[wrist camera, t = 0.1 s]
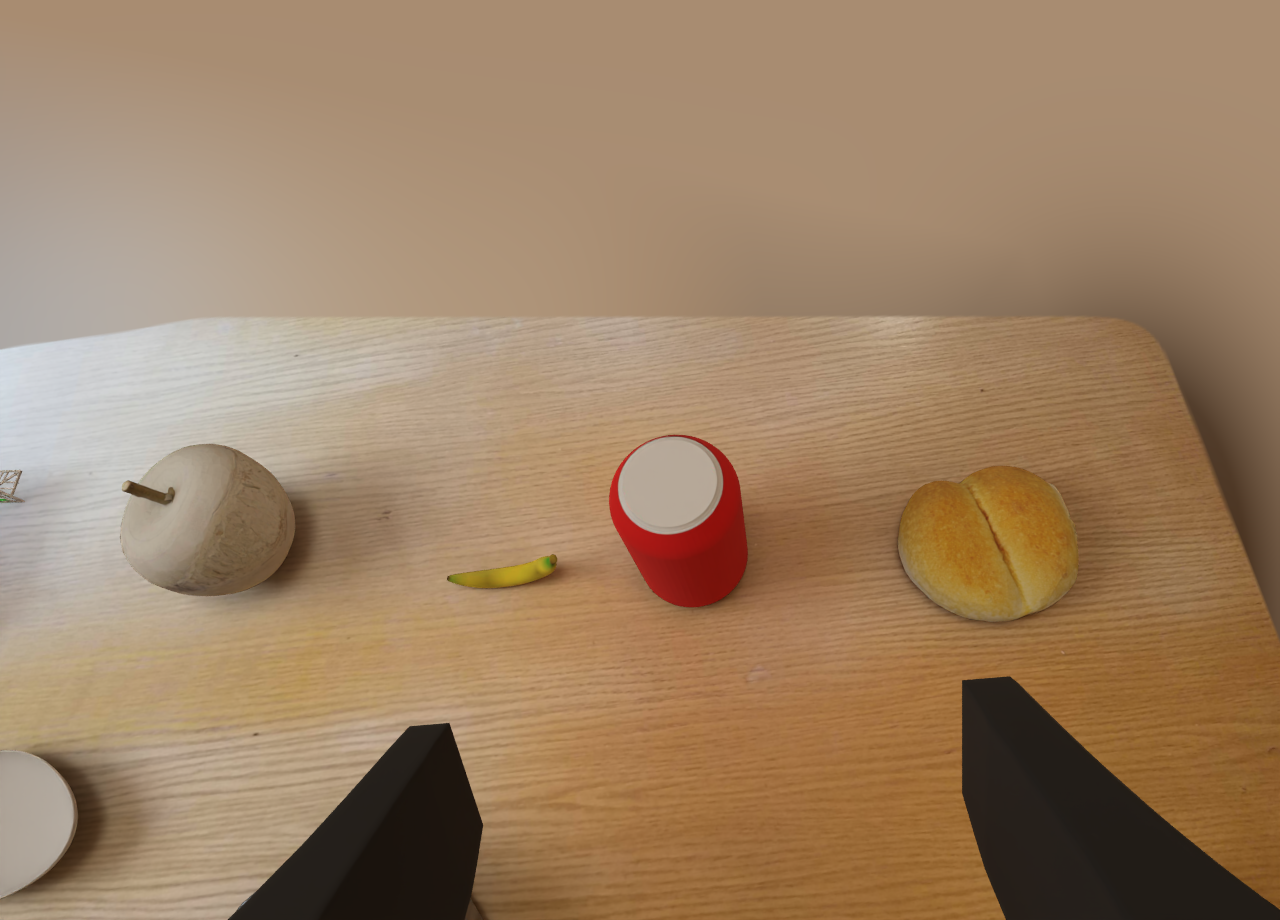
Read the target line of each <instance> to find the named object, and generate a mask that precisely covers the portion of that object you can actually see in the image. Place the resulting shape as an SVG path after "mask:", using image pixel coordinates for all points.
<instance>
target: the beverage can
mask: <svg viewBox="0 0 1280 920" xmlns="http://www.w3.org/2000/svg"><path fill="white" fill-rule="evenodd" d="M609 506H610V513H611V517H612V520H613V523H614V525H615V528H616V529H617V531H618V533H619V535H620V537H621V538H622V540H623V542H624V544H625V545H626V547H627V549H628V551H629V553H630V554H631V556H632V558H633V560H634V561H635V563H636V565H637V567H638V569H639V570H640V572H641V574H642V576H643V577H644V579H645V581H646V583H647V584H648V586H649V587H650V588H651V589H652V590H653V592H654V593H656V594H657V595H658V596H659V597H661V598H662V599H664V600H665V601H667V602H669V603H672V604H674V605H678V606H683V607H701V606H705V605H709V604H712V603H714V602H716V601H719V600H720V599H722V598H724V597H725V596H726V595H728V594H729V593H730V592H731V591H732V590H733V589H734V588H735V587H736V585H737V584H738V583H739V581H740V579H741V578H742V576H743V573H744V571H745V568H746V564H747V557H748V549H747V540H746V532H745V524H744V516H743V507H742V499H741V491H740V484H739V480H738V477H737V474H736V472H735V470H734V468H733V466H732V464H731V463H730V461H729V460H728V459H727V458H726V456H725V455H724V454H723V453H722V452H721V451H720V450H718V449H717V448H716V447H714V446H713V445H711V444H710V443H708V442H706V441H704V440H702V439H699V438H696V437H692V436H686V435H668V436H662V437H658V438H655V439H652V440H650V441H648V442H645V443H644V444H642V445H640V446H639V447H637V448H636V449H635V450H633V451H632V452H631V453H630V454H629V455H628V456H627V457H626V458H625V459H624V460H623V462H622V463H621V464H620V466H619V468H618V469H617V471H616V473H615V475H614V478H613V481H612V484H611V488H610V495H609Z"/></svg>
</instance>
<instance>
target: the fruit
mask: <svg viewBox="0 0 1280 920" xmlns="http://www.w3.org/2000/svg"><path fill="white" fill-rule="evenodd" d="M556 562H557V557H556V555H554V554H552V555H551V556H545V557H541V558H539V559H537V560H535V561H532V562H529V563H526V564H522V565H517V566H511V567H504V568H497V569H490V570H482V571H474V572H467V573H460V574H454V575H450V576H448V577H447V580H448V581H450V582H452V583H455V584H459V585H463V586H468V587H475V588H500V587H509V586H515V585H520V584H524V583H528V582H532V581H535V580H538V579H540V578H543V577H545V576H547V575H549V574H551V573H552V572H553V571H554V570H555V569H556V565H557V564H556Z"/></svg>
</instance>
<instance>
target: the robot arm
mask: <svg viewBox="0 0 1280 920" xmlns="http://www.w3.org/2000/svg"><path fill="white" fill-rule="evenodd" d="M962 794H963V797H964V801H965V804H966V808H967V811H968V814H969V818H970V821H971V825H972V828H973V832H974V835H975V838H976V841H977V845H978V848H979V851H980V854H981V858H982V861H983V864H984V867H985V870H986V873H987V875H988V877H989V880H990V882H991V885H992V887H993V890H994V892H995V894H996V897H997V899H998V902H999V904H1000V906H1001V909H1002V911H1003V913H1004V916H1005V918H1006V920H1280V909H1278V908H1277V907H1275V906H1274V905H1273V904H1271V903H1270V902H1268V901H1267V900H1266V899H1264V898H1263V897H1262V896H1260V895H1259V894H1258V893H1256V892H1255V891H1254V890H1252V889H1251V888H1250V887H1248V886H1247V885H1246V884H1244V883H1243V882H1242V881H1240V880H1239V879H1238V878H1236V877H1235V876H1234V875H1233V874H1231V873H1230V872H1229V871H1227V870H1226V869H1225V868H1224V867H1222V866H1221V865H1220V864H1218V863H1217V862H1216V861H1215V860H1213V859H1212V858H1211V857H1210V856H1208V855H1207V854H1206V853H1205V852H1203V851H1202V850H1201V849H1200V848H1199V847H1197V846H1196V845H1195V844H1194V843H1192V842H1191V841H1190V840H1189V839H1187V838H1186V837H1185V836H1184V835H1183V834H1181V833H1180V832H1179V831H1178V830H1176V829H1175V828H1174V827H1173V826H1172V825H1170V824H1169V823H1168V822H1167V821H1166V820H1165V819H1163V818H1162V817H1161V816H1160V815H1159V814H1157V813H1156V812H1155V811H1154V810H1153V809H1152V808H1150V807H1149V806H1148V805H1147V804H1146V803H1145V802H1144V801H1142V800H1141V799H1140V798H1139V797H1138V796H1137V795H1136V794H1135V793H1133V792H1132V791H1131V790H1130V789H1129V788H1128V787H1127V786H1126V785H1124V784H1123V783H1122V782H1121V781H1120V780H1119V779H1118V778H1117V777H1115V776H1114V775H1113V774H1112V773H1111V772H1110V771H1109V770H1108V769H1106V768H1105V767H1104V766H1103V765H1102V764H1101V763H1100V762H1099V761H1098V760H1097V759H1096V758H1095V757H1093V756H1092V755H1091V754H1090V753H1089V752H1088V751H1087V750H1086V749H1085V748H1084V747H1083V746H1082V745H1081V744H1080V743H1079V742H1078V741H1076V740H1075V739H1074V738H1073V737H1072V736H1071V735H1070V734H1069V733H1068V732H1067V731H1066V730H1065V729H1064V728H1063V727H1062V726H1061V725H1060V724H1059V723H1058V722H1057V721H1056V720H1055V719H1054V718H1053V717H1052V716H1051V715H1050V714H1049V713H1048V712H1047V711H1046V710H1045V709H1043V708H1042V707H1041V706H1040V705H1039V704H1038V703H1037V702H1036V701H1035V700H1034V699H1033V698H1032V697H1031V696H1030V695H1029V694H1028V693H1027V692H1026V691H1025V690H1024V689H1023V688H1022V687H1021V686H1020V685H1019V684H1018V683H1017V682H1016V681H1015V680H1013V679H1012V678H1011V677H997V678H985V679H973V680H962ZM482 829H483V823H482V820H481V817H480V814H479V811H478V808H477V805H476V802H475V799H474V796H473V793H472V790H471V787H470V784H469V781H468V778H467V775H466V772H465V769H464V766H463V763H462V760H461V757H460V754H459V751H458V748H457V745H456V742H455V739H454V736H453V733H452V730H451V727H450V724H449V723H444V724H432V725H420V726H410V727H409V728H408V729H407V730H406V731H405V732H404V733H403V734H402V735H401V736H400V737H399V738H398V739H397V740H396V742H395V743H394V744H393V745H392V746H391V747H390V748H389V749H388V750H387V752H386V753H385V754H384V755H383V756H382V757H381V758H380V759H379V761H378V762H377V763H376V764H375V765H374V766H373V767H372V768H371V770H370V771H369V772H368V773H367V774H366V775H365V776H364V777H363V779H362V780H361V781H360V782H359V783H358V784H357V785H356V786H355V788H354V789H353V790H352V791H351V792H350V793H349V794H348V795H347V797H346V798H345V799H344V800H343V801H342V802H341V803H340V804H339V805H338V806H337V807H336V809H335V810H334V811H333V812H332V813H331V814H330V815H329V816H328V817H327V818H326V820H325V821H324V822H323V823H322V824H321V825H320V826H319V827H318V828H317V829H316V830H315V832H314V833H313V834H312V835H311V836H310V837H309V838H308V839H307V840H306V841H305V842H304V844H303V845H302V846H301V847H300V848H299V849H298V850H297V851H296V852H295V853H294V854H293V855H292V856H291V857H290V858H289V859H288V860H287V861H286V862H285V863H284V864H283V865H282V866H281V867H280V868H279V869H278V870H277V871H276V872H275V873H274V874H273V875H272V876H271V877H270V878H269V879H268V880H267V881H266V882H265V883H264V884H263V885H262V886H261V887H260V888H259V889H258V890H257V891H256V892H255V893H254V894H253V895H252V896H251V897H250V898H249V899H248V900H247V901H246V902H245V903H244V904H243V905H242V906H241V907H240V908H239V909H238V910H237V911H236V912H235V913H234V914H233V915H232V916H231V917H230V918H229V919H228V920H465V916H466V913H467V909H468V905H469V902H470V898H471V893H472V888H473V883H474V877H475V872H476V866H477V860H478V854H479V848H480V841H481V835H482Z"/></svg>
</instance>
